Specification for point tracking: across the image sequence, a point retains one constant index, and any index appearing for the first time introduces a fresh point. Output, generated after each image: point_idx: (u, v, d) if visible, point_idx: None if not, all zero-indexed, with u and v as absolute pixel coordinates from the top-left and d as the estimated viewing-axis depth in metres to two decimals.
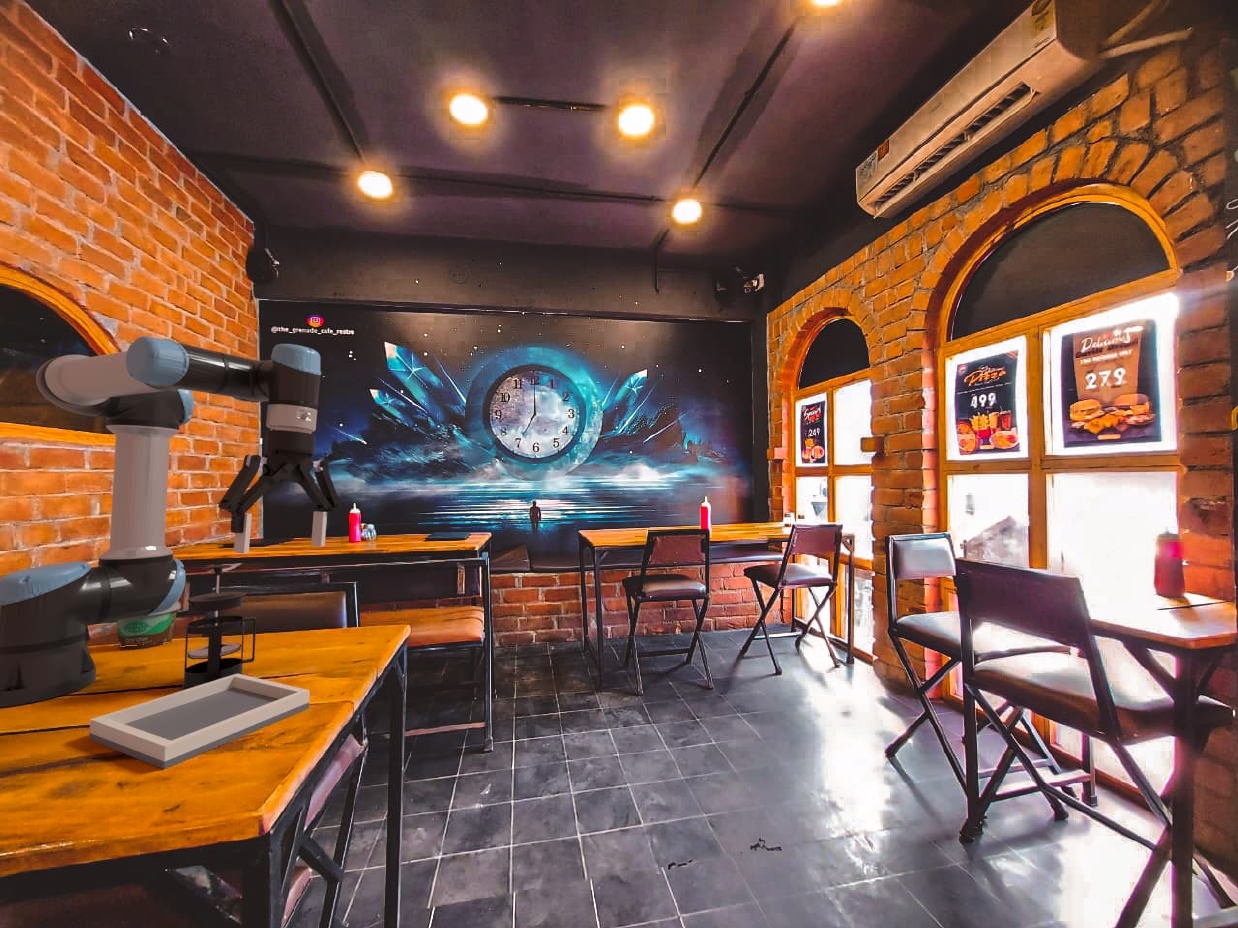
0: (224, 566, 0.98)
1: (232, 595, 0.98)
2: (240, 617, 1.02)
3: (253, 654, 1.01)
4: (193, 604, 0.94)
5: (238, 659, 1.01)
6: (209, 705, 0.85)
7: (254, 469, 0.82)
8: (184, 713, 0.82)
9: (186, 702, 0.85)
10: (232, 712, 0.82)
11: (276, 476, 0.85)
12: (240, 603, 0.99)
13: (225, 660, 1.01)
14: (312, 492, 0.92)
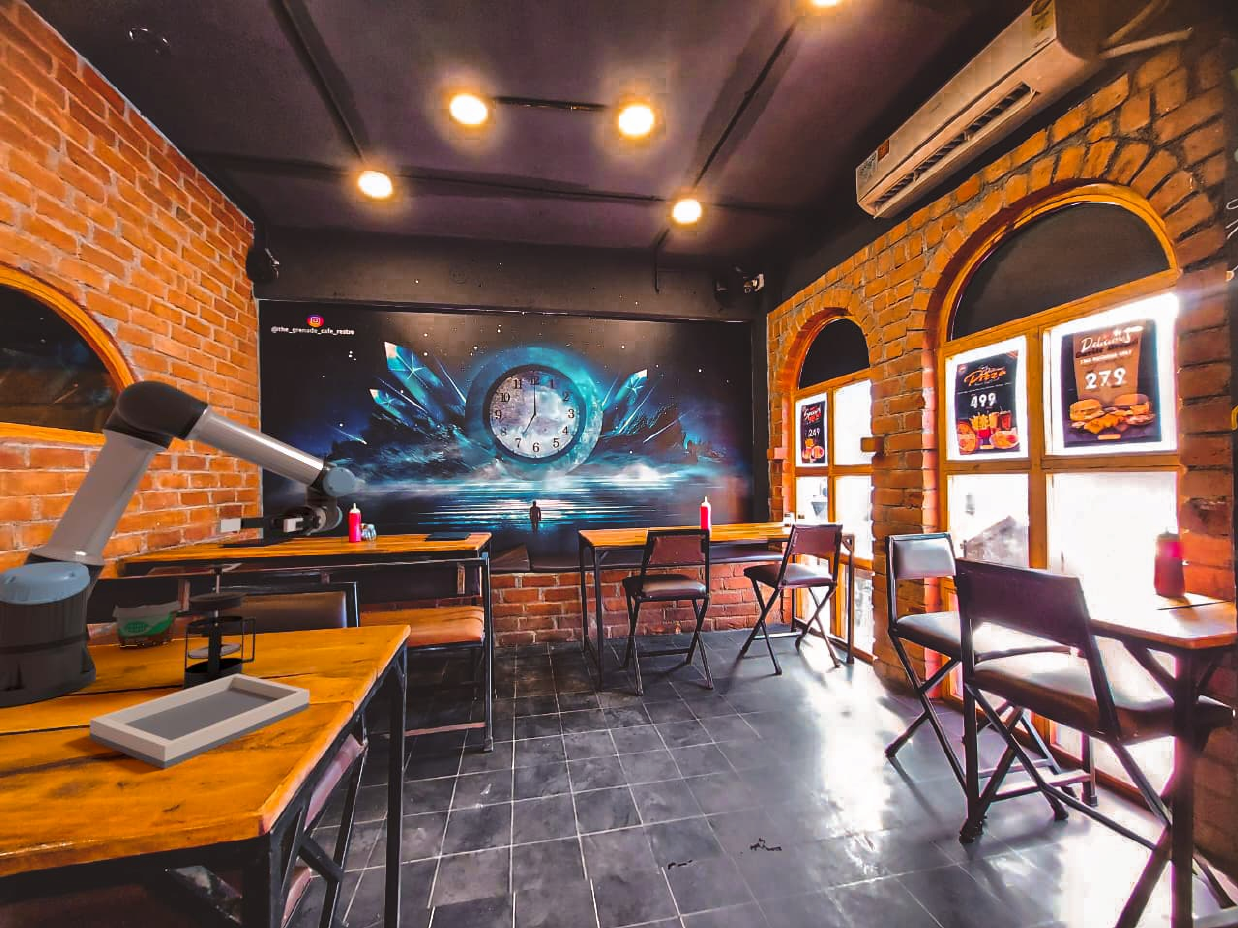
0: (224, 566, 0.98)
1: (232, 595, 0.98)
2: (240, 617, 1.02)
3: (253, 654, 1.01)
4: (193, 604, 0.94)
5: (238, 659, 1.01)
6: (209, 705, 0.85)
7: None
8: (184, 713, 0.82)
9: (186, 702, 0.85)
10: (232, 712, 0.82)
11: None
12: (240, 603, 0.99)
13: (225, 660, 1.01)
14: (259, 526, 1.18)
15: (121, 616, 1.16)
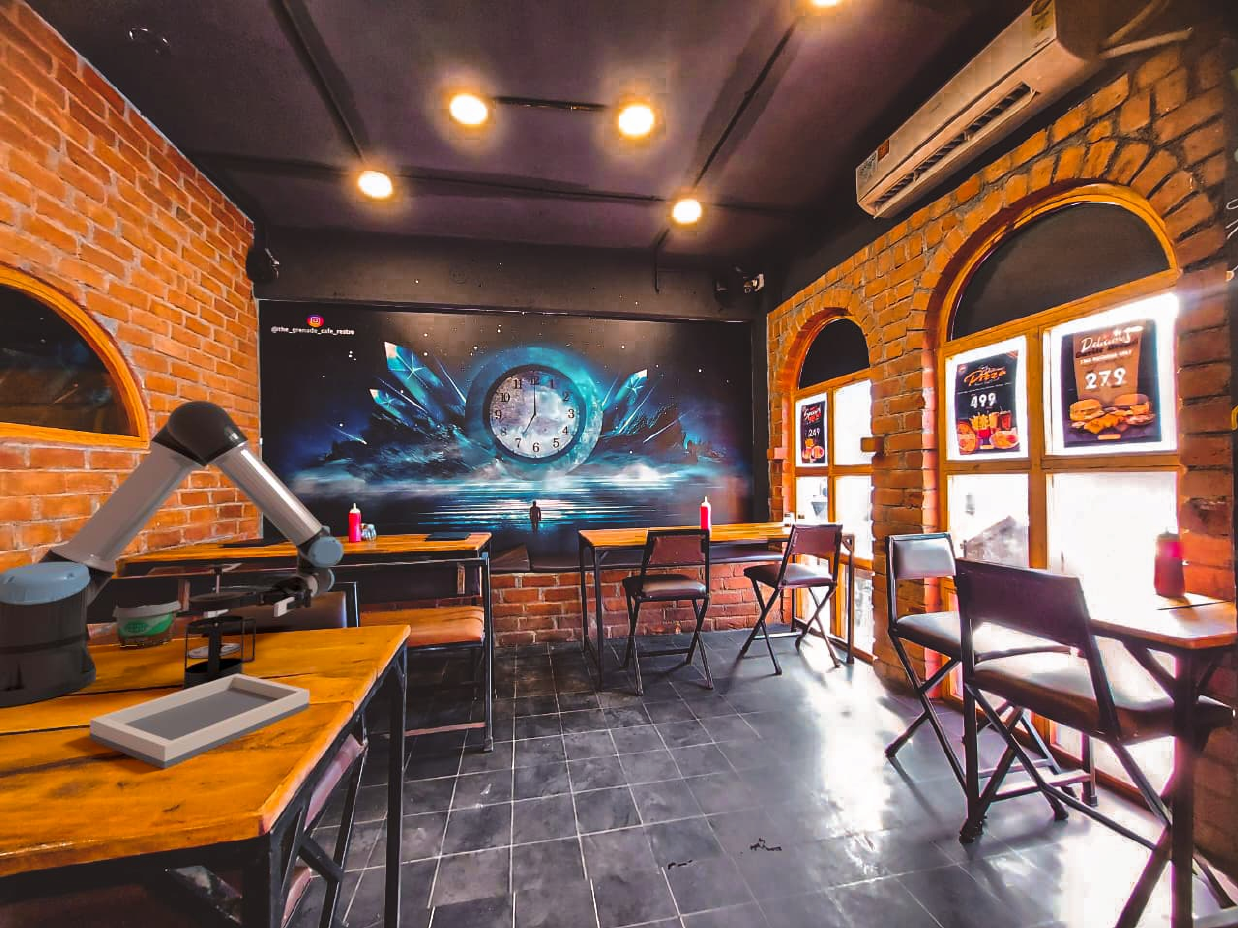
0: (224, 566, 0.98)
1: (232, 595, 0.98)
2: (240, 617, 1.02)
3: (253, 654, 1.01)
4: (193, 604, 0.94)
5: (238, 659, 1.01)
6: (209, 705, 0.85)
7: None
8: (184, 713, 0.82)
9: (186, 702, 0.85)
10: (232, 712, 0.82)
11: None
12: (240, 603, 0.99)
13: (225, 660, 1.01)
14: (248, 604, 1.13)
15: (121, 616, 1.16)
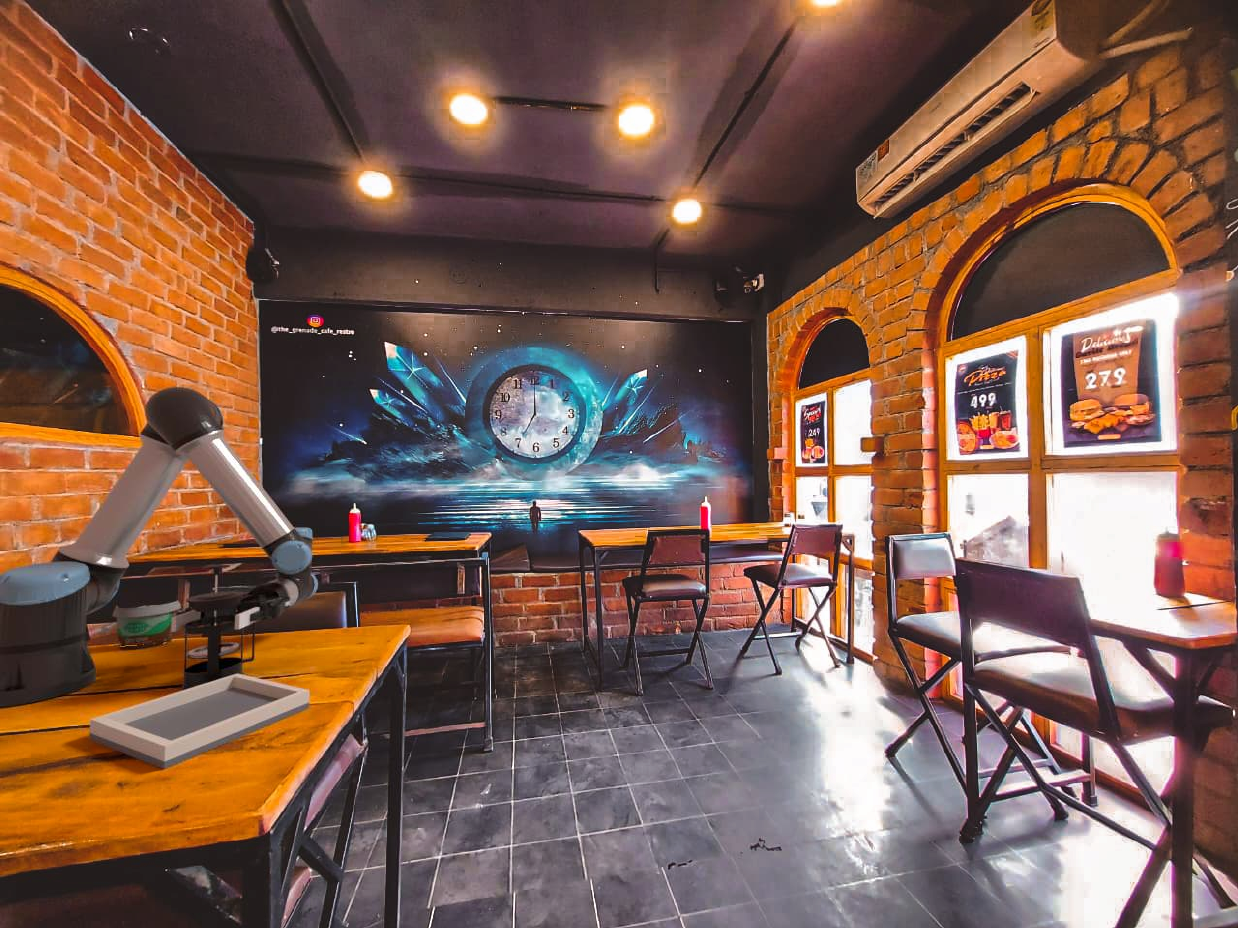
0: (222, 566, 0.98)
1: (231, 595, 0.98)
2: None
3: (253, 653, 1.01)
4: (192, 604, 0.94)
5: (238, 659, 1.01)
6: (209, 705, 0.85)
7: None
8: (184, 713, 0.82)
9: (186, 702, 0.85)
10: (232, 712, 0.82)
11: None
12: (239, 603, 0.99)
13: (225, 659, 1.01)
14: (222, 613, 1.04)
15: (121, 616, 1.16)
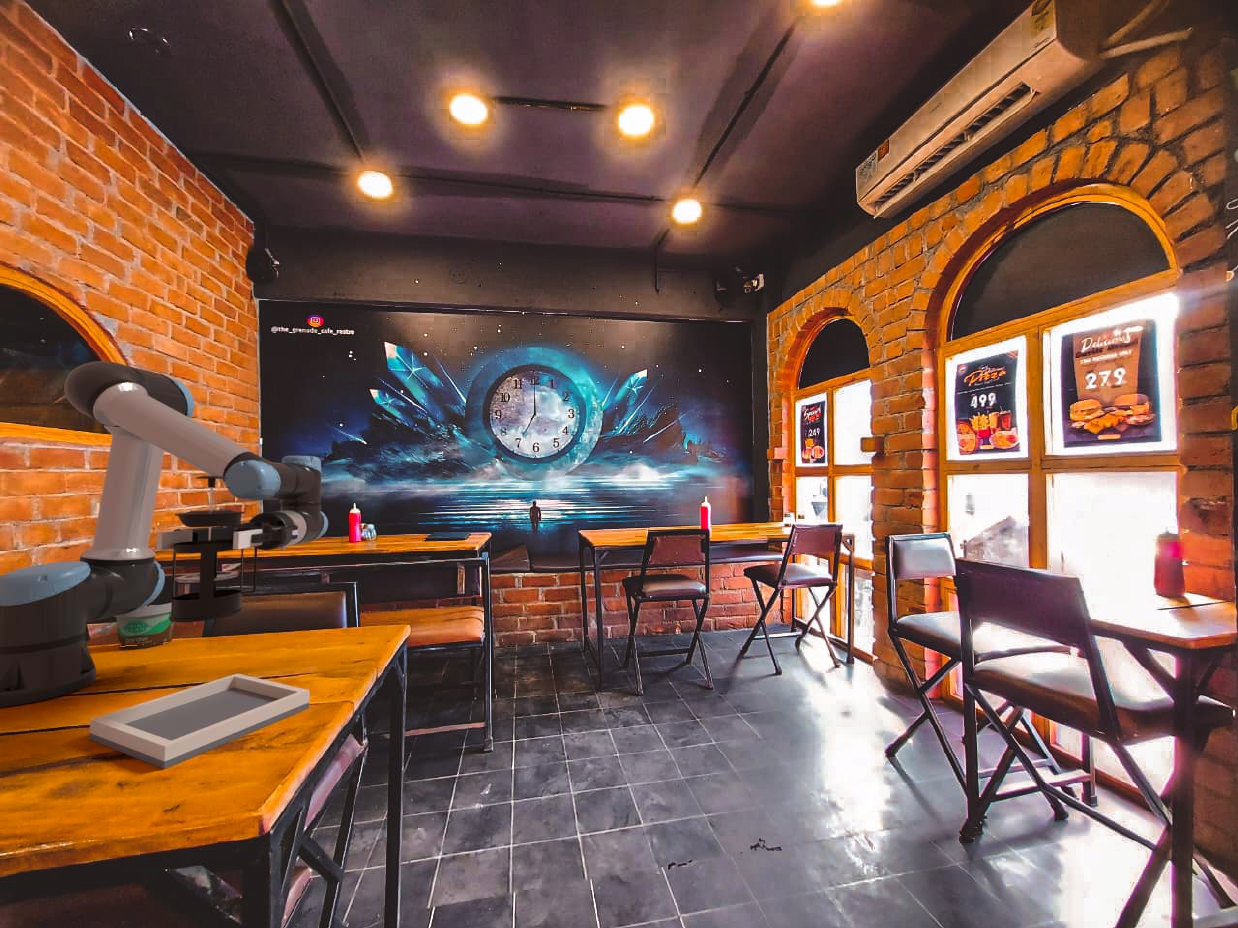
0: (219, 476, 0.82)
1: (229, 511, 0.82)
2: None
3: (254, 584, 0.84)
4: (181, 518, 0.78)
5: (237, 590, 0.85)
6: (209, 705, 0.85)
7: None
8: (184, 713, 0.82)
9: (186, 702, 0.85)
10: (232, 712, 0.82)
11: None
12: (238, 522, 0.83)
13: (221, 591, 0.85)
14: None
15: (121, 616, 1.16)
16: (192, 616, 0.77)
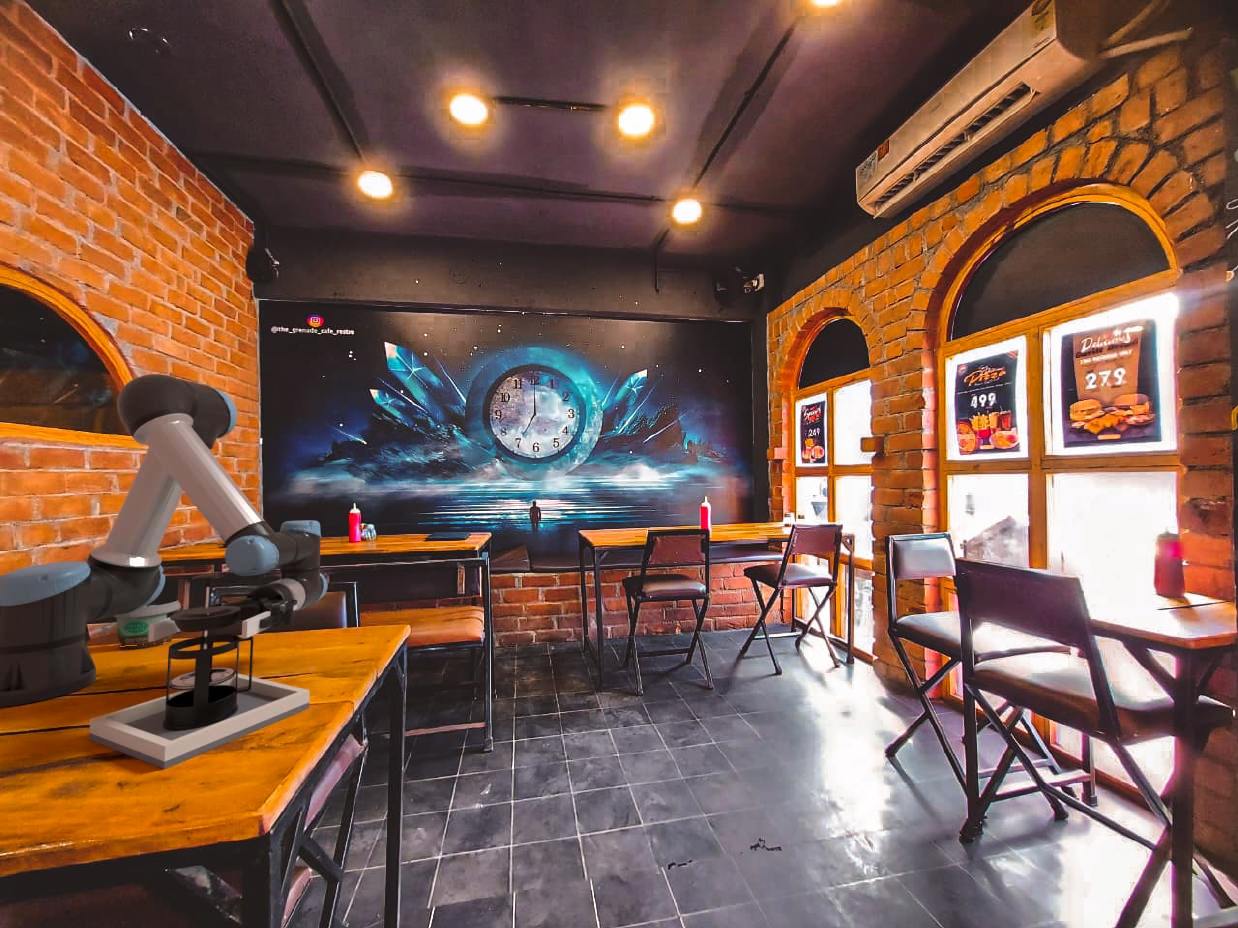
0: (215, 576, 0.81)
1: (225, 611, 0.81)
2: (234, 637, 0.85)
3: (250, 681, 0.84)
4: (177, 623, 0.77)
5: (232, 687, 0.84)
6: None
7: None
8: None
9: None
10: None
11: None
12: (234, 620, 0.82)
13: (216, 688, 0.85)
14: None
15: (121, 616, 1.16)
16: (186, 723, 0.76)
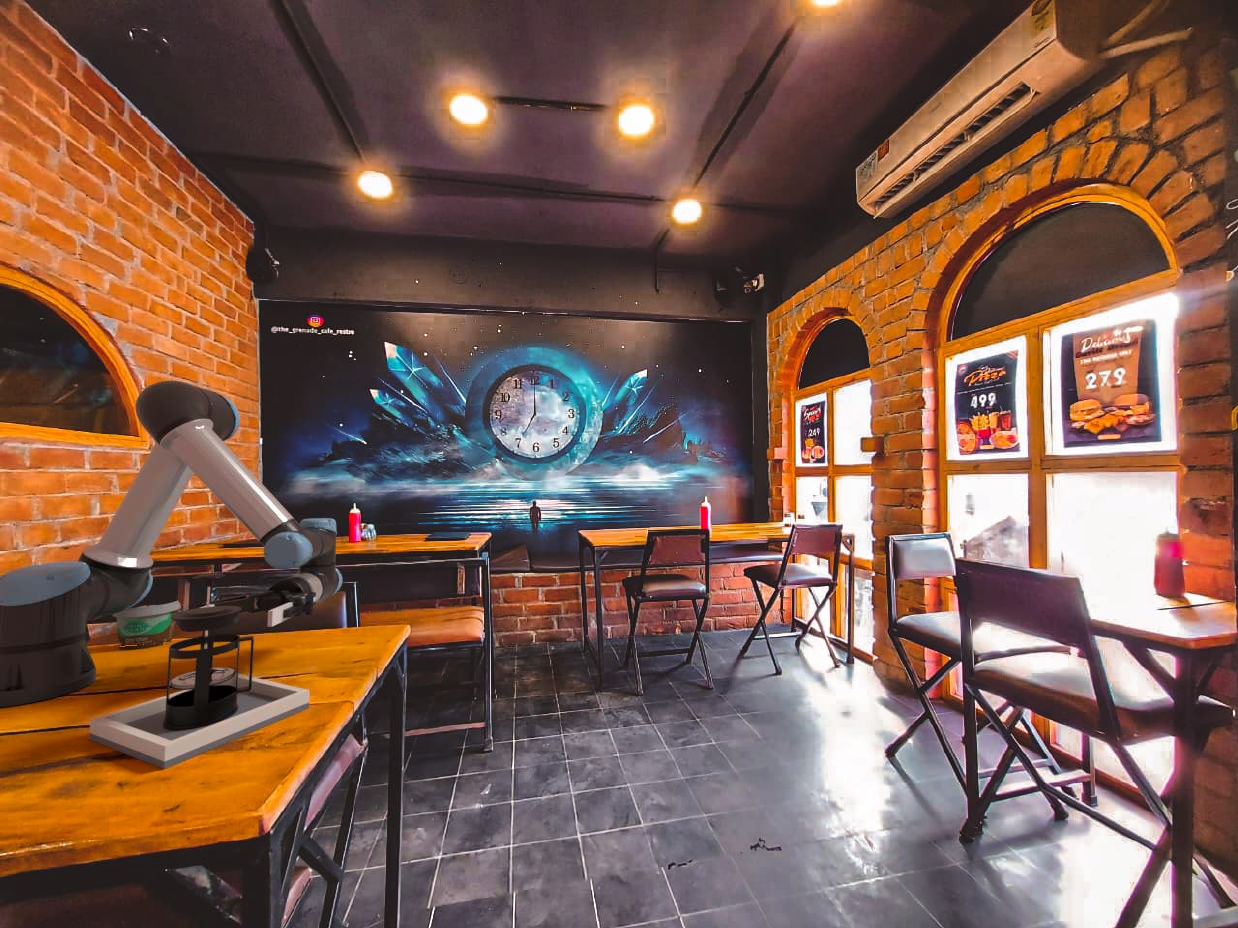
0: (216, 576, 0.81)
1: (226, 611, 0.81)
2: (235, 636, 0.85)
3: (250, 681, 0.84)
4: (178, 622, 0.78)
5: (232, 687, 0.84)
6: None
7: None
8: None
9: None
10: None
11: None
12: (235, 620, 0.82)
13: (216, 688, 0.85)
14: None
15: (121, 616, 1.16)
16: (186, 723, 0.76)
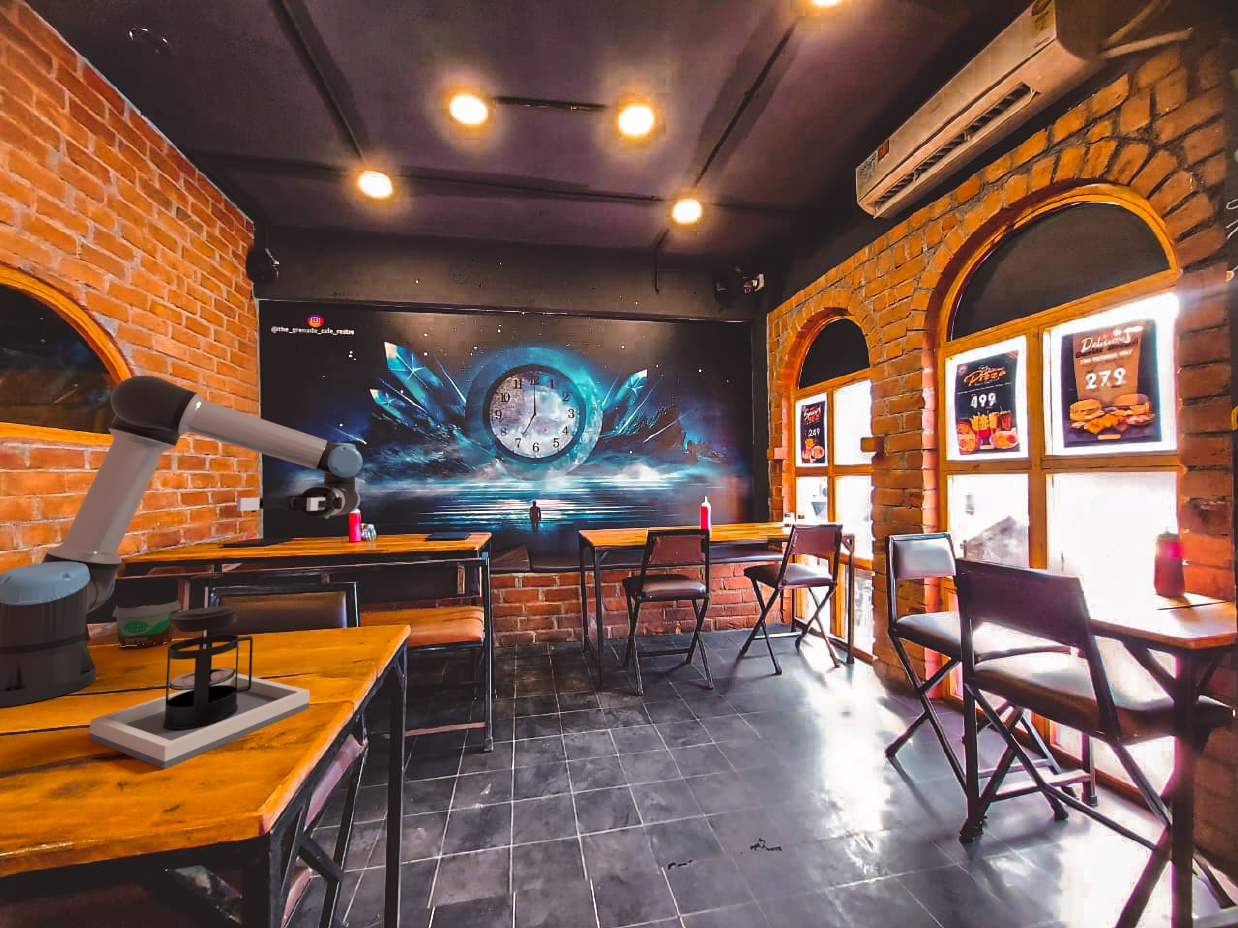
0: (214, 576, 0.81)
1: (224, 611, 0.81)
2: (234, 636, 0.85)
3: (250, 681, 0.84)
4: (176, 623, 0.77)
5: (231, 687, 0.84)
6: None
7: None
8: None
9: None
10: None
11: None
12: (234, 620, 0.82)
13: (216, 688, 0.85)
14: (278, 506, 1.12)
15: (121, 616, 1.16)
16: (186, 723, 0.76)
